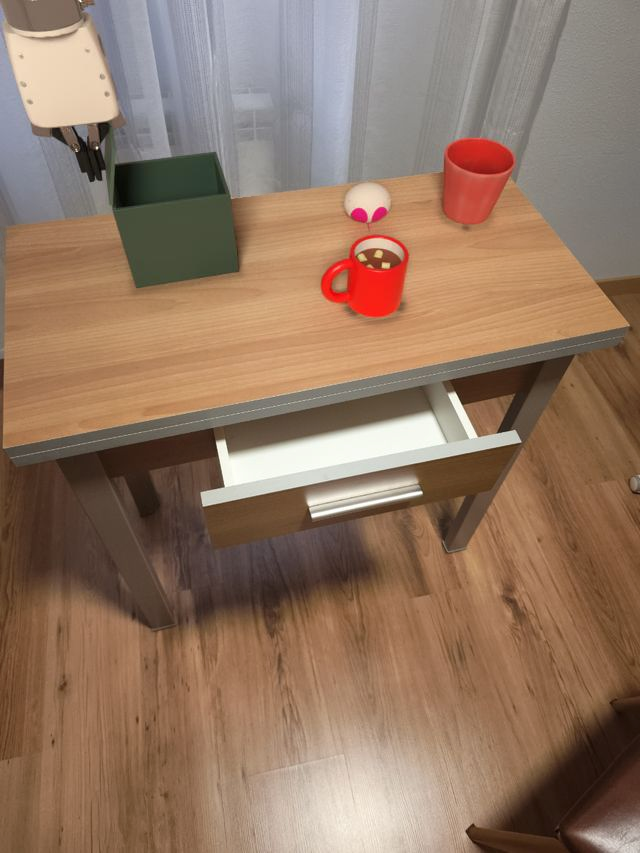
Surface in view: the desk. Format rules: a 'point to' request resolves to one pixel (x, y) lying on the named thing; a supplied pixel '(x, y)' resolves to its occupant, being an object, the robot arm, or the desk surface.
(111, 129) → the green flat rectangular panel
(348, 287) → the mug
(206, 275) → the green hollow box
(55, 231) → the desk surface
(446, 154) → the flower pot
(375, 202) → the toy mouse
